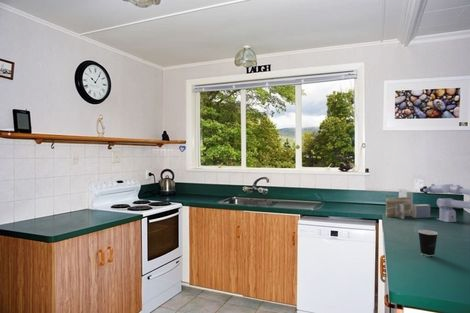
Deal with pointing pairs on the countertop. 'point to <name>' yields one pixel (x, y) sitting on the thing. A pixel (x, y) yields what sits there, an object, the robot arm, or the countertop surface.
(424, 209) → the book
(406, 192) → the skincare box
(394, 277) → the countertop surface
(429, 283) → the countertop surface
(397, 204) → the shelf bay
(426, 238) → the dixie cup
